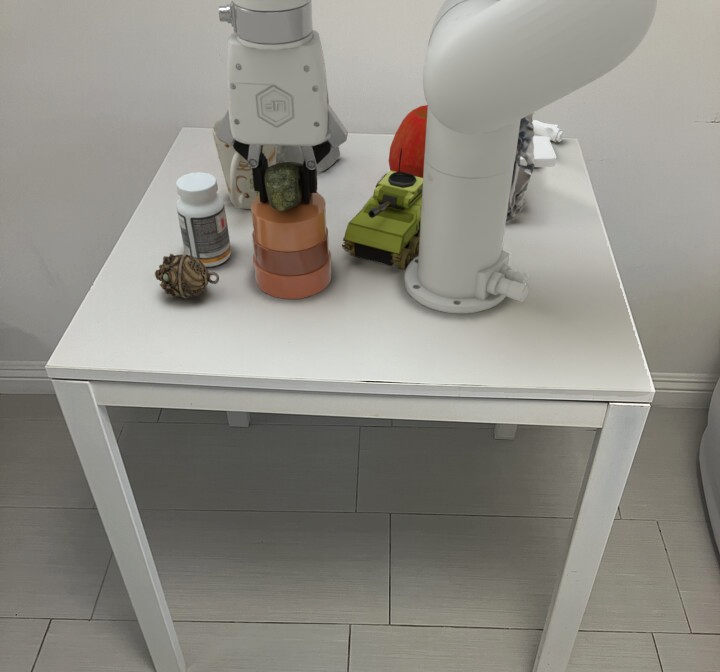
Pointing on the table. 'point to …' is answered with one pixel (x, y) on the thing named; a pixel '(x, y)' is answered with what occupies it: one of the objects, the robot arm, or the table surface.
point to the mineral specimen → (296, 156)
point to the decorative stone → (284, 185)
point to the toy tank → (388, 222)
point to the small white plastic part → (548, 130)
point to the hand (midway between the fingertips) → (286, 195)
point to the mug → (239, 170)
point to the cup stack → (291, 248)
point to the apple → (410, 143)
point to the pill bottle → (202, 218)
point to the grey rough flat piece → (519, 176)
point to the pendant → (183, 276)
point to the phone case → (542, 153)
